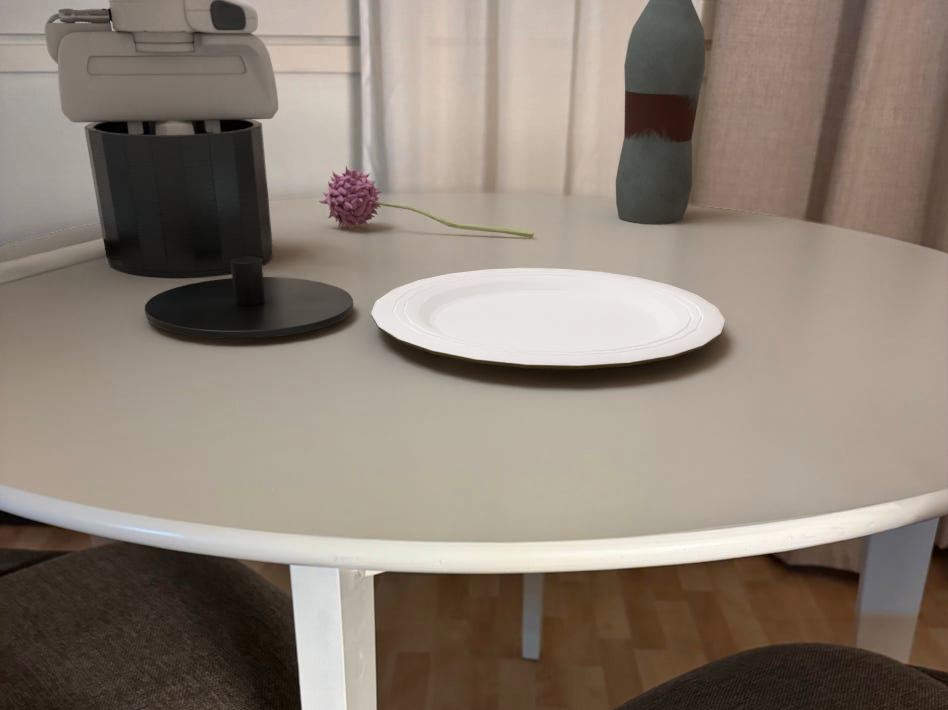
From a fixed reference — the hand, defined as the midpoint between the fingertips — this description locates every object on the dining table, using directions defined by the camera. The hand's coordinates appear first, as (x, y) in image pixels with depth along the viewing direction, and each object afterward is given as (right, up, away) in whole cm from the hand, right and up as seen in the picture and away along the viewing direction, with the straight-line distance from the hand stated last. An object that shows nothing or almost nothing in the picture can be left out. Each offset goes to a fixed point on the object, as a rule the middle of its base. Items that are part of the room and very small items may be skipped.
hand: (180, 171), depth 105 cm
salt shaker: (0, -4, +2) cm, 4 cm away
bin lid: (+10, -18, -14) cm, 25 cm away
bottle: (+51, +5, +26) cm, 57 cm away
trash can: (0, -7, +5) cm, 8 cm away
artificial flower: (+24, 0, +17) cm, 29 cm away
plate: (+35, -21, -16) cm, 44 cm away
